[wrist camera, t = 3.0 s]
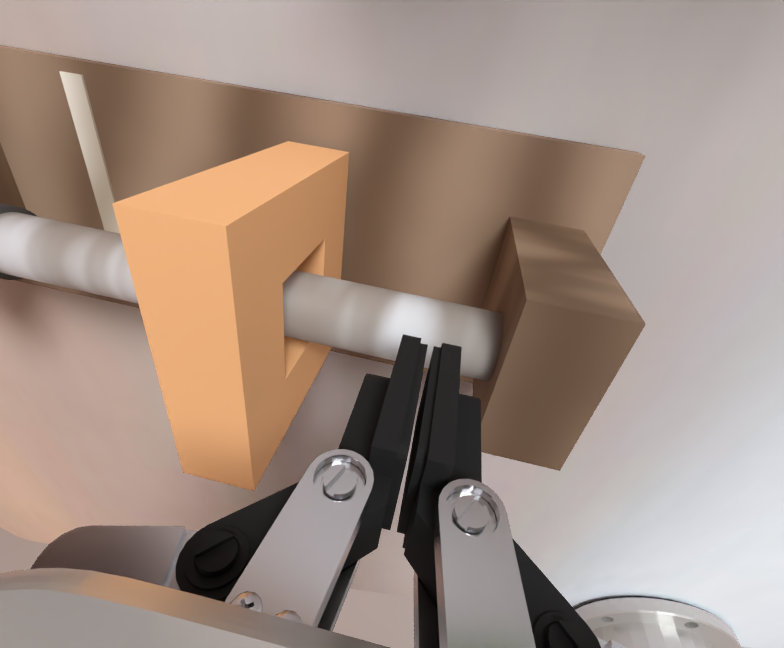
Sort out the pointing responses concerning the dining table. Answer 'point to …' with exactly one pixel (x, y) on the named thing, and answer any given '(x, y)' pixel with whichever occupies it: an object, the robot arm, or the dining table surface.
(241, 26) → the dining table surface
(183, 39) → the dining table surface
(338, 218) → the collar
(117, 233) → the pipe stand
